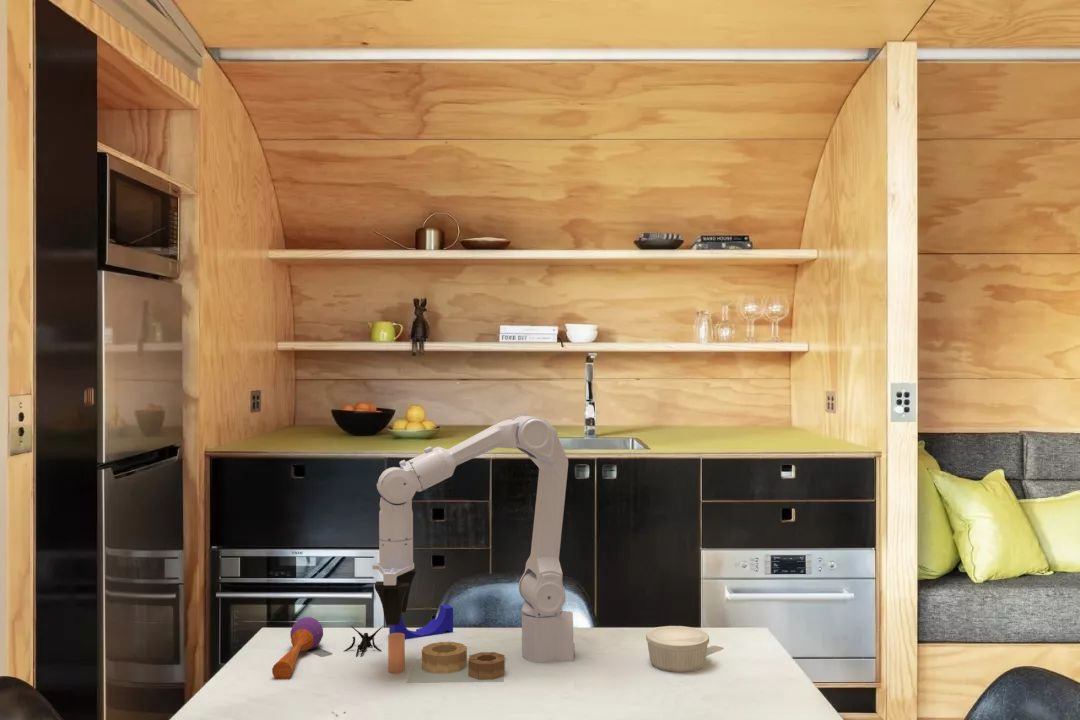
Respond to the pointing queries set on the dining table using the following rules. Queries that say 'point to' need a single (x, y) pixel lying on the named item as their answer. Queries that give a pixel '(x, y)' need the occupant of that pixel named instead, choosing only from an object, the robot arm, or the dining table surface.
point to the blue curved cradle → (428, 625)
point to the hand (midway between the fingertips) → (396, 617)
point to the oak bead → (444, 657)
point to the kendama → (298, 645)
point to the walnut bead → (486, 665)
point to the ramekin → (677, 648)
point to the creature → (364, 642)
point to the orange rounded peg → (396, 653)
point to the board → (442, 675)
